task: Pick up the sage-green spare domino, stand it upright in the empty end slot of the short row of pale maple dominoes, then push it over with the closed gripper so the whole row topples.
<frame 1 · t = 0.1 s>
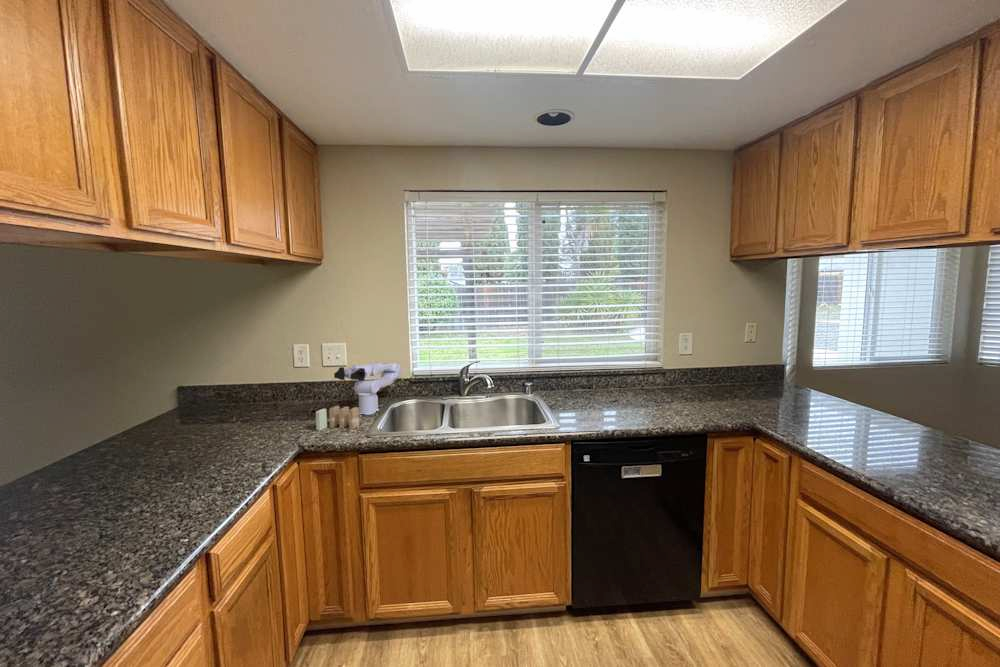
hand: (343, 375, 179), 21 cm above the worktop, tool horizontal, fingers open, 7 cm apart
domino 2: (335, 425, 180), on the worktop
spare domino: (321, 428, 175), on the worktop
domino 4: (354, 427, 178), on the worktop
domino 3: (344, 426, 179), on the worktop
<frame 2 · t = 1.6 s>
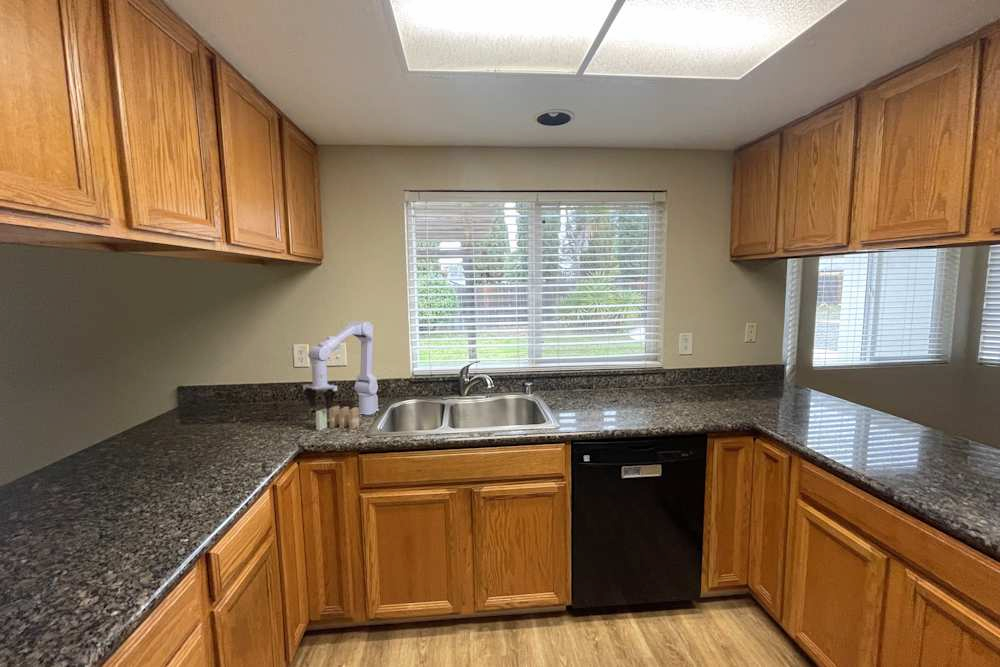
hand: (321, 406, 174), 9 cm above the worktop, tool pointing down, fingers open, 7 cm apart
nothing on the worktop moved.
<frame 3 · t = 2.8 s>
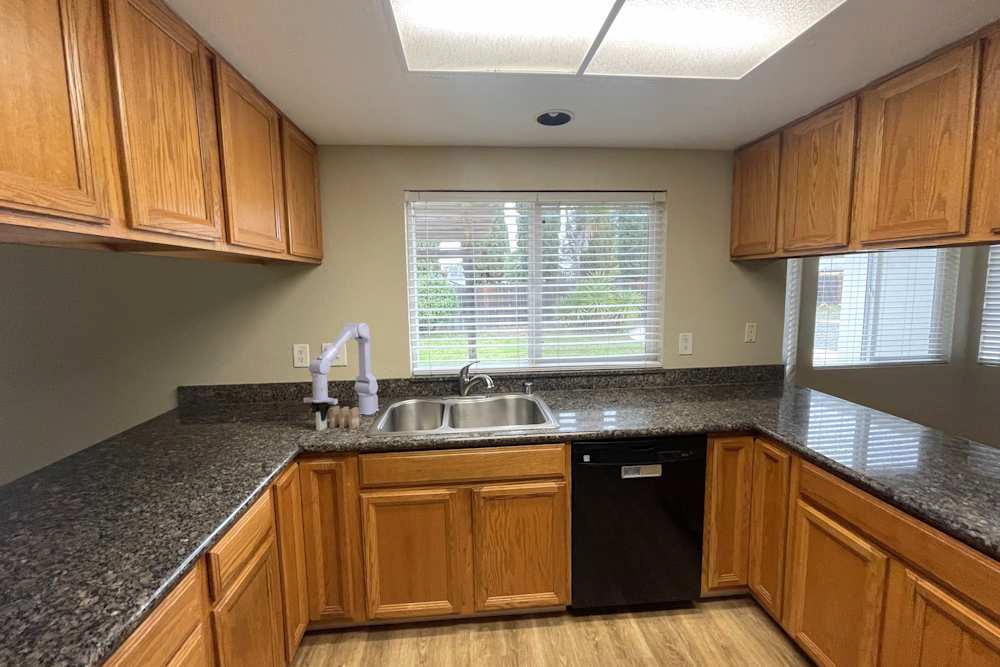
hand: (321, 420, 175), 4 cm above the worktop, tool pointing down, fingers closed on spare domino, 1 cm apart
spare domino: (321, 429, 175), on the worktop, touching gripper
everything else where it was.
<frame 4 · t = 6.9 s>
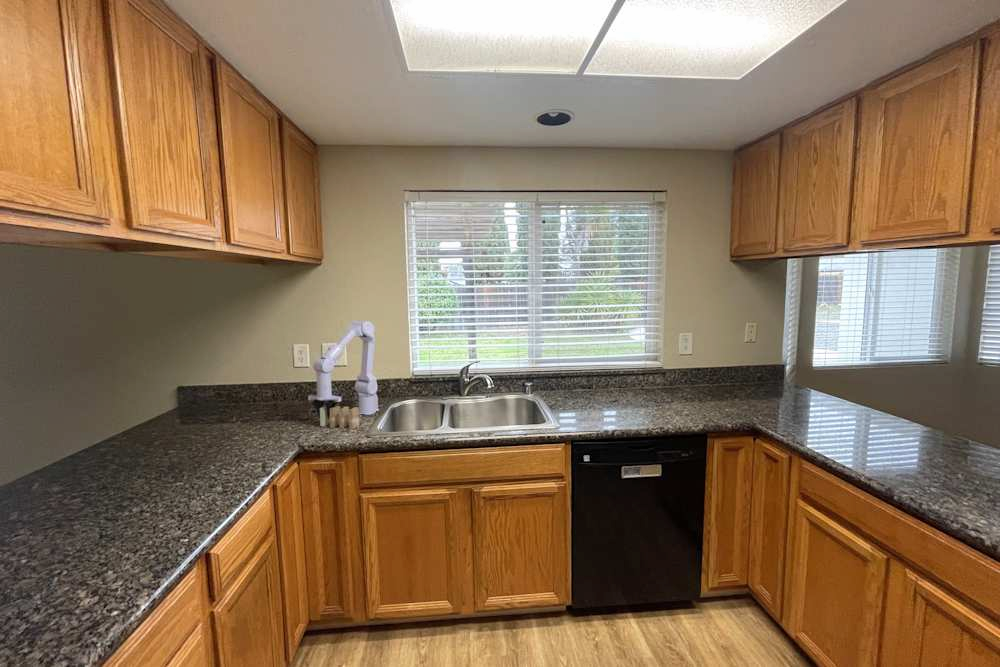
hand: (325, 417, 180), 3 cm above the worktop, tool pointing down, fingers open, 4 cm apart
domino 2: (335, 425, 180), on the worktop, touching gripper
spare domino: (325, 424, 180), on the worktop
everything else where it was.
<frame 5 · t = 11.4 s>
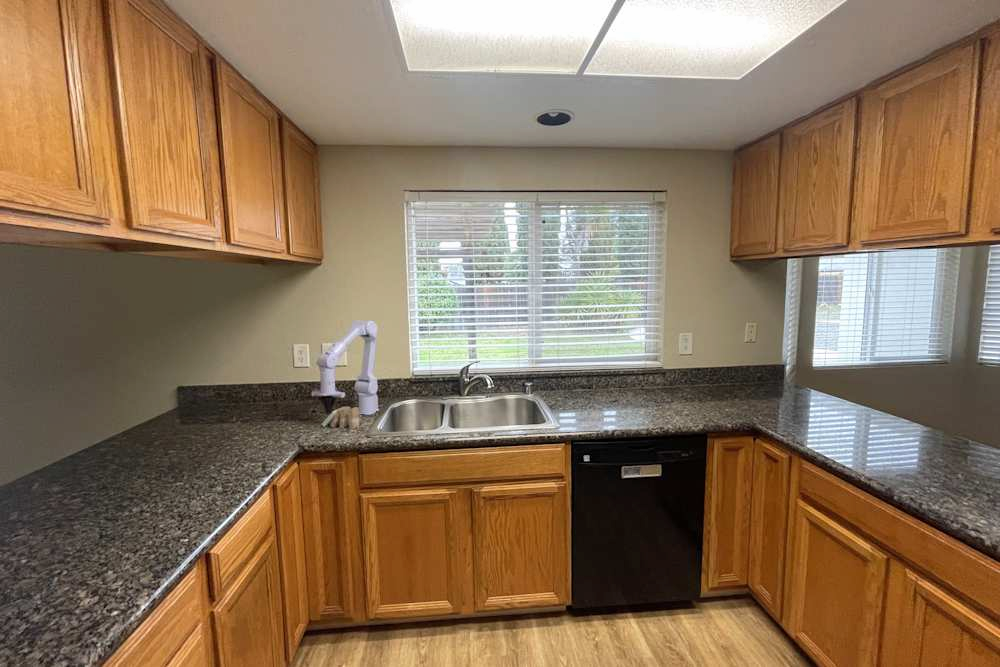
hand: (328, 412, 180), 5 cm above the worktop, tool pointing down, fingers closed
domino 2: (335, 424, 179), on the worktop, tilted 26°
spare domino: (326, 423, 180), point 1 cm above the worktop, tilted 43°
domino 3: (344, 426, 179), on the worktop, tilted 5°
everything else where it was.
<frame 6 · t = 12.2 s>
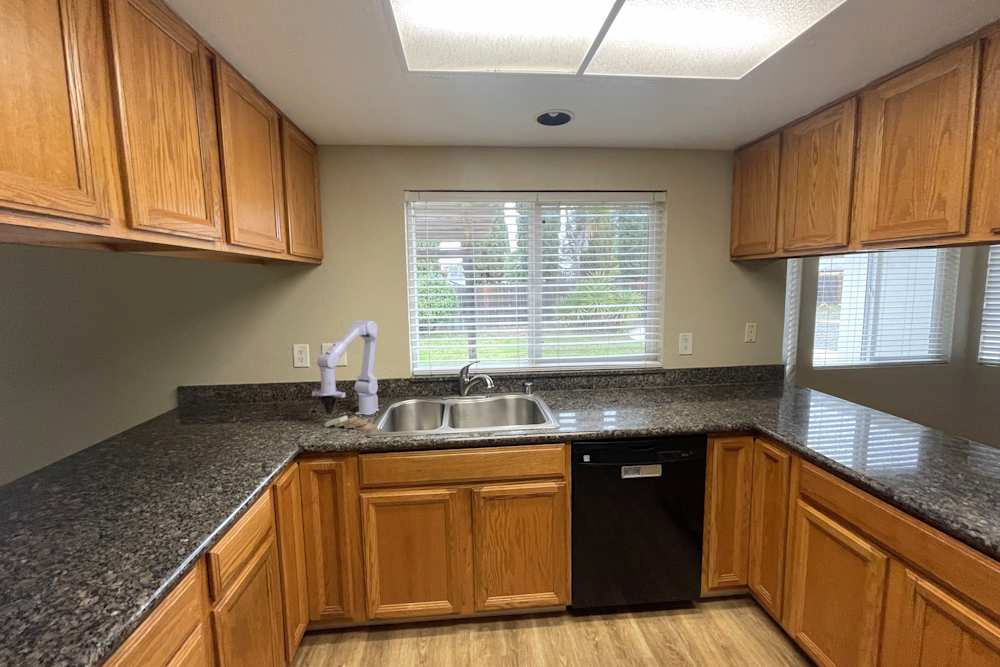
hand: (329, 412, 179), 5 cm above the worktop, tool pointing down, fingers closed
domino 2: (338, 424, 179), point 1 cm above the worktop, tilted 70°, touching domino 3, spare domino
spare domino: (328, 423, 180), point 1 cm above the worktop, tilted 70°, touching domino 2
domino 4: (356, 427, 178), on the worktop, tilted 90°, touching domino 3
domino 3: (348, 425, 178), point 1 cm above the worktop, tilted 76°, touching domino 2, domino 4
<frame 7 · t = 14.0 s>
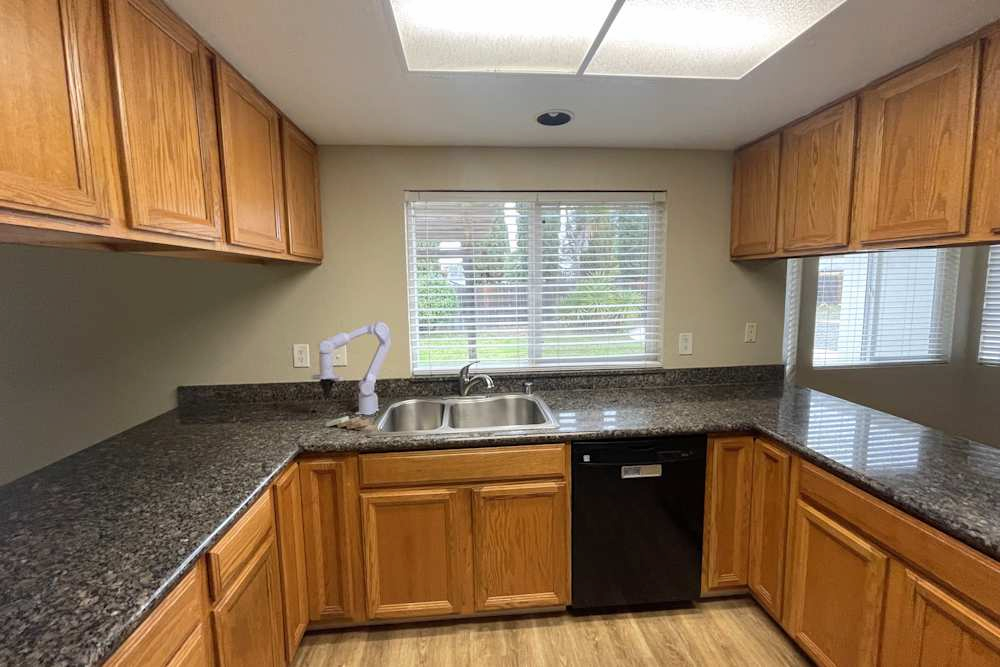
hand: (327, 395, 191), 10 cm above the worktop, tool pointing down, fingers closed
domino 2: (341, 424, 179), point 1 cm above the worktop, tilted 69°, touching spare domino
domino 4: (358, 427, 177), on the worktop, tilted 90°
domino 3: (351, 425, 177), point 1 cm above the worktop, tilted 74°
everything else where it was.
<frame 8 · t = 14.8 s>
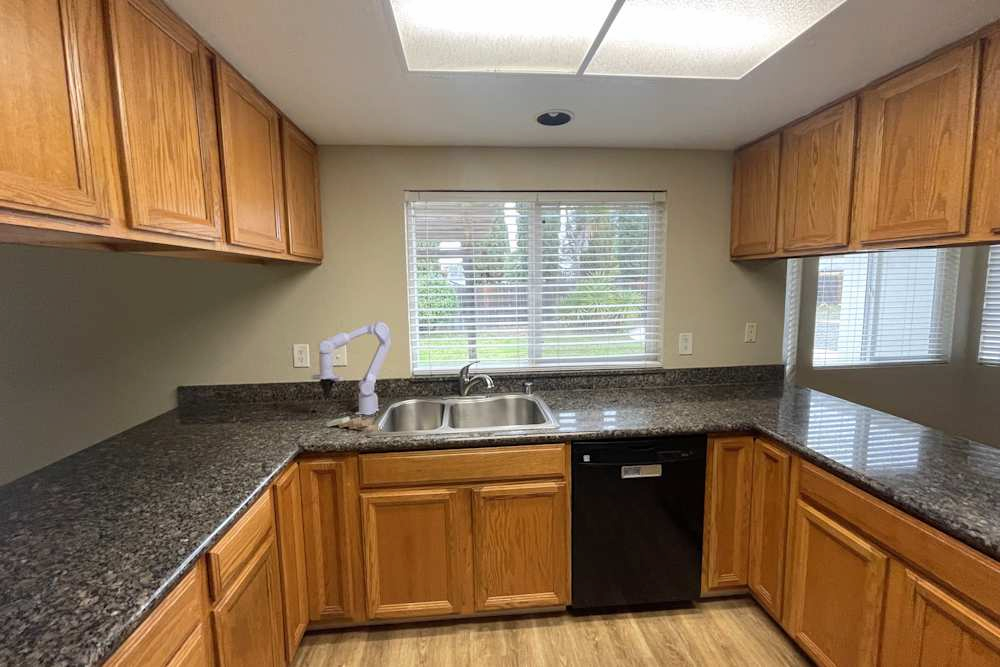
hand: (327, 395, 191), 10 cm above the worktop, tool pointing down, fingers closed
domino 2: (343, 424, 179), point 1 cm above the worktop, tilted 71°, touching domino 3, spare domino
domino 4: (359, 427, 177), on the worktop, tilted 90°, touching domino 3
domino 3: (353, 425, 176), point 1 cm above the worktop, tilted 72°, touching domino 2, domino 4
everything else where it was.
at the end: domino 4 tilted 90°; spare domino tilted 74°; spare domino inside the target area (1.5 cm from its centre), point 0.8 cm above the worktop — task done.
